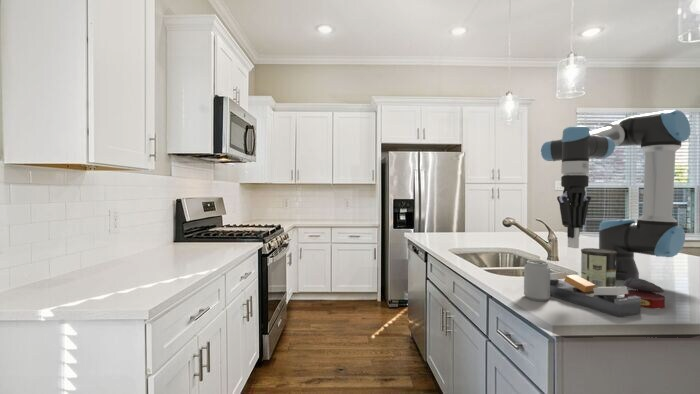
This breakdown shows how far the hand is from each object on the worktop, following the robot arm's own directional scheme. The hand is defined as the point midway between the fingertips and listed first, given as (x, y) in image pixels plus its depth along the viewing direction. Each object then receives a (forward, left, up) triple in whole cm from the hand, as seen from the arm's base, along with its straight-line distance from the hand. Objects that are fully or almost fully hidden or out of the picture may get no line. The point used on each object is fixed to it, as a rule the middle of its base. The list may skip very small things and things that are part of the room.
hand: (573, 247), depth 117 cm
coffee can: (-17, -3, -17) cm, 24 cm away
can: (+11, -4, -17) cm, 20 cm away
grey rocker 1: (0, -7, -11) cm, 13 cm away
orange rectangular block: (0, +2, -11) cm, 11 cm away
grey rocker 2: (0, +12, -11) cm, 16 cm away
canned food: (-16, +12, -17) cm, 26 cm away
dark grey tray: (0, +2, -17) cm, 17 cm away
